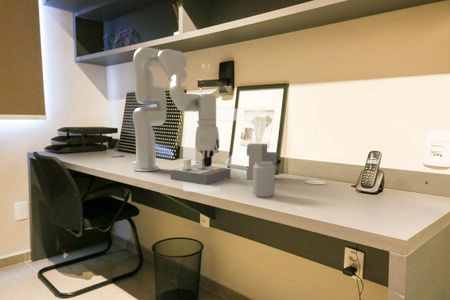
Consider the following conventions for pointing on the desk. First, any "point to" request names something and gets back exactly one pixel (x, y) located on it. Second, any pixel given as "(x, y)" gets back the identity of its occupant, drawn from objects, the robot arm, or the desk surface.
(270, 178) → the can
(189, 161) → the handle
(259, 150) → the circuit breaker
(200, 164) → the handle
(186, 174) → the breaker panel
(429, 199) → the desk surface
